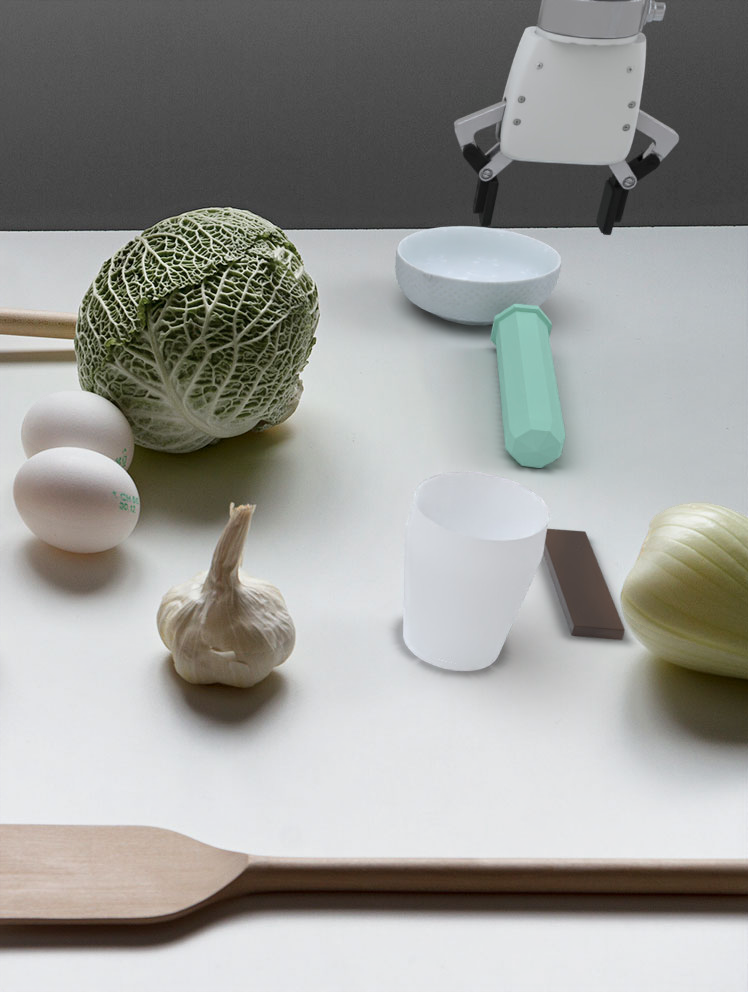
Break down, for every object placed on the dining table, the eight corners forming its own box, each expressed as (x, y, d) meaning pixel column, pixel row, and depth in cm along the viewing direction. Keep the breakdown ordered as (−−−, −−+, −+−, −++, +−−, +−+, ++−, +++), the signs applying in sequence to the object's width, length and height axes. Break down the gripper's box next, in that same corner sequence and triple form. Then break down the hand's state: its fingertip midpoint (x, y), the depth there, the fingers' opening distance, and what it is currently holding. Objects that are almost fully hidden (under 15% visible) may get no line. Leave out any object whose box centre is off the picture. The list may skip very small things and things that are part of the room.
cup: (401, 594, 99) (427, 459, 92) (525, 627, 95) (561, 488, 89) (372, 662, 92) (397, 521, 85) (504, 700, 88) (541, 555, 82)
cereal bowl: (481, 273, 152) (493, 215, 148) (582, 329, 138) (597, 266, 135) (357, 295, 147) (366, 236, 143) (449, 355, 133) (462, 291, 130)
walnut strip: (582, 543, 104) (585, 530, 104) (621, 643, 93) (625, 630, 93) (536, 539, 105) (540, 527, 104) (570, 639, 94) (574, 625, 93)
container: (566, 415, 110) (545, 295, 130) (493, 430, 112) (483, 311, 132) (579, 473, 112) (557, 347, 132) (508, 486, 115) (496, 361, 135)
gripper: (698, 9, 102) (642, 217, 112) (470, 2, 106) (434, 204, 115) (721, 31, 96) (660, 249, 105) (478, 22, 100) (440, 234, 109)
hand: (543, 225), depth 110 cm, fingers open, 9 cm apart
